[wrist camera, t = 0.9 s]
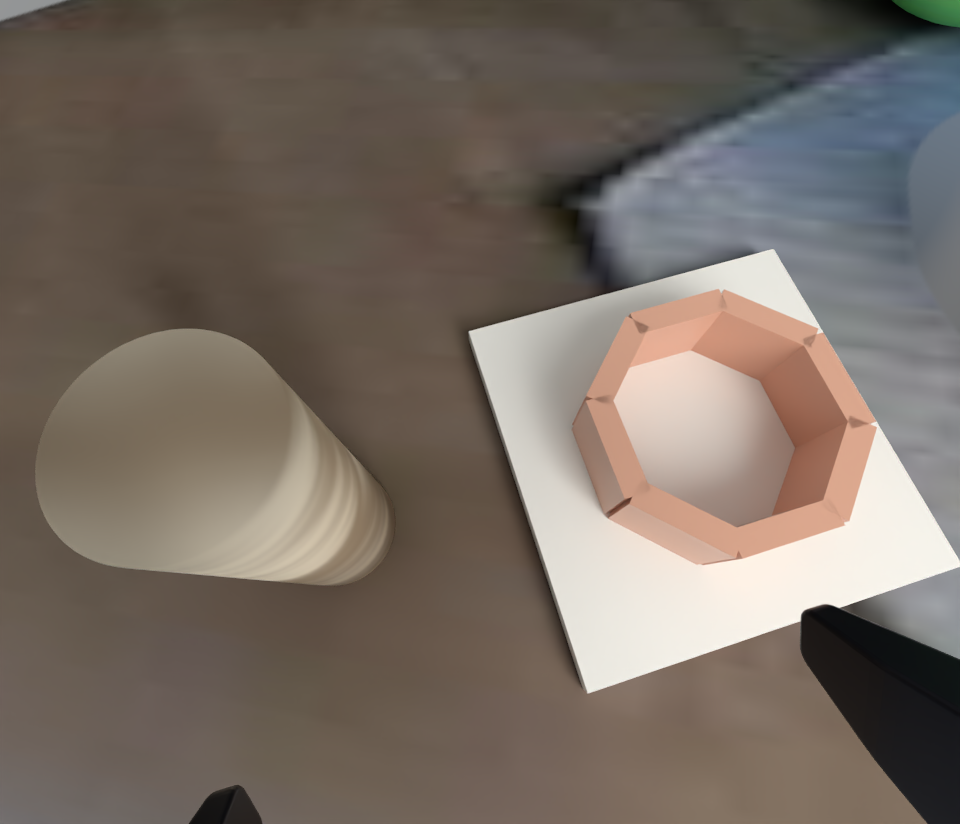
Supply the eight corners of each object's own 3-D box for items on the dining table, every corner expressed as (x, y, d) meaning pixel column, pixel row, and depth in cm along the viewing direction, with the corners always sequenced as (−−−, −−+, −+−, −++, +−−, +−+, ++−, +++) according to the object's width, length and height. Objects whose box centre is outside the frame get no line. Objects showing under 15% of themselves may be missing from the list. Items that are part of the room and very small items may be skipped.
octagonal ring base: (941, 567, 22) (1052, 559, 17) (583, 689, 20) (608, 712, 16) (763, 261, 27) (814, 198, 23) (469, 341, 26) (465, 290, 21)
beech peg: (407, 566, 22) (308, 523, 10) (291, 601, 22) (35, 604, 9) (381, 456, 24) (268, 303, 11) (272, 488, 23) (34, 363, 11)
